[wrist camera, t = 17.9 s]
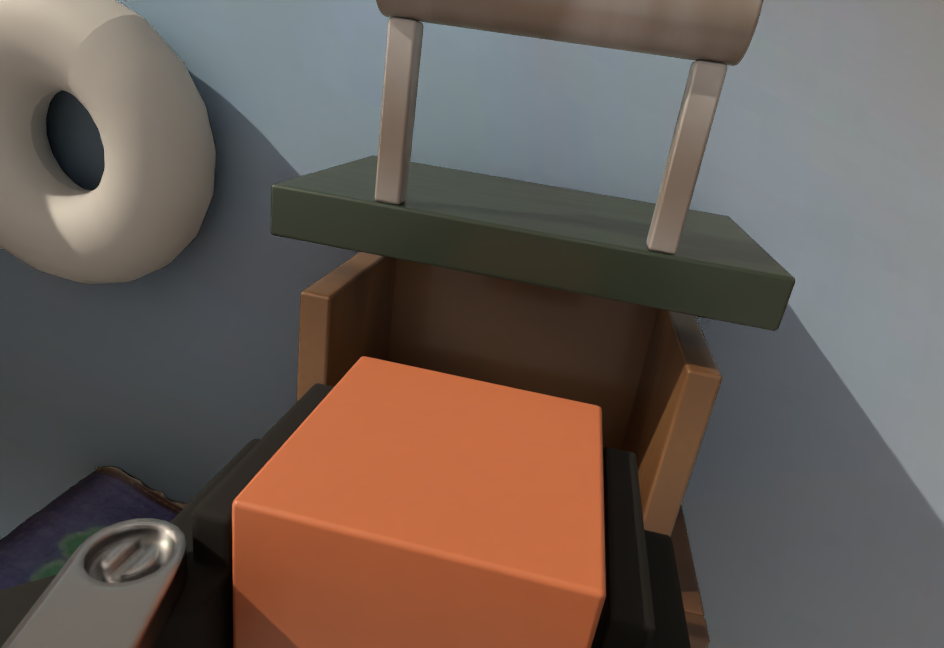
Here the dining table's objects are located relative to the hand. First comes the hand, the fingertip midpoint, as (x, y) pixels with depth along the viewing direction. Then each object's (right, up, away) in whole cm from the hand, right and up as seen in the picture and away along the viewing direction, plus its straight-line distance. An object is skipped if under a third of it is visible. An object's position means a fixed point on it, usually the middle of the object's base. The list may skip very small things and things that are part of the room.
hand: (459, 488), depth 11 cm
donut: (-13, +10, +11) cm, 20 cm away
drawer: (+2, +4, +9) cm, 10 cm away
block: (0, 0, 0) cm, 0 cm away
